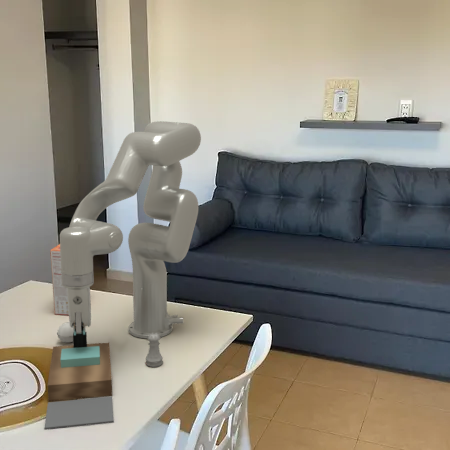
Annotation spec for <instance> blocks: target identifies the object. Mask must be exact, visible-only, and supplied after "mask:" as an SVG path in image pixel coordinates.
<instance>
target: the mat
mask: <svg viewBox="0 0 450 450" xmlns="http://www.w3.org/2000/svg"><path fill="white" fill-rule="evenodd" d="M113 402H114V401H113V395H112V396H104V397H94V398H83V399H72V400H62V401H51V402H47V407H46V414H45V422H44V430H53V429H63V428H73V427H82V426H83V427H85V426H92V425H93V426H94V425H101V424H102V425H103V424H111V423H115V422H114V420H115V419H114V403H113Z"/></svg>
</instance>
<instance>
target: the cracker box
mask: <svg viewBox="0 0 450 450" xmlns="http://www.w3.org/2000/svg"><path fill="white" fill-rule="evenodd" d="M49 253H50V266H51V268H50V269H51V279H52V281H51V282H52V294H53V295H52V296H53V297H52V299H53V305H54V306H53V307H54V309H53V310H54V315H56V316H57V315H58V316H59V315H60V316H61V315H62V316H69V312H68V297H67V288H65V287H63V286H62V277H61V254H60V243H59V244H57V245H56V246H54V247H53V248H51V249H50V251H49Z"/></svg>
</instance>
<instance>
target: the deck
mask: <svg viewBox="0 0 450 450" xmlns="http://www.w3.org/2000/svg"><path fill="white" fill-rule="evenodd" d="M93 346H99V349H100V365H88V366H76V367H64V368H61V351H62V349H67V348H74V347H73V344H70V345H56V346H52V350H51V351H52V352H51V360H50V365H49V371H48V372H49V373H48V379H47V386H46V387H47V399H48V400H47V401H48V402H58V401H69V400H79V399H90V398H101V397H111V396H112V397H113V383H112V380H113V379H112V363H111V347H110V346H111V345H110V342H109V341H108V342H98V343H97V342H96V343H87V347H93ZM48 402H47V403H48Z"/></svg>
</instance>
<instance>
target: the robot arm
mask: <svg viewBox="0 0 450 450" xmlns="http://www.w3.org/2000/svg"><path fill="white" fill-rule="evenodd" d="M201 141H202V136H201V132H200V130H199V128H198V127H197V126H196V125H194V124H193V123H188V122H178V121H177V122H174V121H163V120H162V121H158V120H157V121H152V122H149V123H148V124H147V125H145V127H144V130H143V131H133V132H130V133H128V134H127V135H126V136H125V138H124V139H123V141H122V144H121V146H120V147H119V151H117V154H116V157H115V159H114V161H113V163H112V166H111V167H110V168H109V169H110V170H109V172H108V175H107V176H106V178H105V180H104V181H103V182H101V183H100V184H98V185H97V186H96V187H95V188H93V189H92V190H91V191H90V192H89V193H88V194H87V195H86V196H85V197H84V198H83V199H82V200H81V201H80V203H79V204H78V206H77V207H76V209H75V211H74V213H73V216H72V218H71V221H70V224H69V227H66V228H63V229H62V230H61V231H60V234H59V244H60V254H61V277H62V286H63V287H65V288H67V297H68V312H69V315H68V320H69V321H68V322H70V327H72V328H73V329H74V333H73V342H72V345H73V347H74V348H80V347H87V344H88V339H87V337H88V336H87V330H86V327H88V328H90V326H91V325H92V303H91V299H92V298H91V288H90V287H92V286H93V285H94V281H95V280H94V279H95V278H94V256H97V255H107V254H111V253H113V252H115V251H117V250H118V249H119V248H121V245H122V244H123V242H124V241H123V240H124V234H123V232H122V230H121V229H120V228H119V226H117V225H115V224H113V223H109V222H104V221H100V220H97V219H98V217H99V215H100V214H101V213H103V211H105V209H107V208H108V207H109V206H111V205H113V204H116V203H118V202H121V201H124V200H126V199H129V198H132V197H133V196H135V195H136V194H137V193H138V192H139V190H140V189H139V188H140V186H141V184H142V181H143V179H144V176H145V175H146V173H147V170H148V167H150V166H152V170H151V175H150V179H149V182H148V186H147V190H146V193H145V197H144V201H143V205H142V206H143V212H144V214H145V216H147V217H149V219H150V218H151V219H154V220H158V221H164V222H168V223H170V224H169V226H168V225H163V224H159V223H152V222H140V223H137V224H136V225H134V226H132V228H131V229H130V231H129V234H128V238H127V243H128V248H129V253H130V257H131V265H132V266H131V267H132V298H133V299H132V300H133V301H132V303H133V307H132V308H133V321H132V322H130V323H129V325H128V333H130V335H131V336H133V337H136V338H139V339H148V337H149V334H151V335H152V333H154V334H155V333H157V334H159V336H160V338H162V337H165V336H168V335H169V334H170V333H171V332H172V331H173V325H175V324H176V325H181V324H184V317H183V316H178V314H172V315H170V314H169V313H168V310H167V309H168V304H167V301H168V298H167V296H168V294H167V291H168V287H167V285H168V284H167V282H168V281H167V279H168V275H167V268H166V263H165V262H167V263H173V264H174V263H180V262H181V261H183V259H185V258H186V256H187V253H188V252H189V249H190V244H191V242H192V238H193V234H194V232H195V231H194V229H195V226H196V223H197V219H198V216H199V215H198V214H199V201H198V197H197V195H196V194H195V193H194V192H193V191H191V190H188V189H184V188H180V187H181V186H180V185H181V182H182V177H183V168H182V164H181V161H182V160H184V159H186V158H188V157H191V156H192V155H194V154H195V153H196V152H197V150H199V148H200V145H201Z"/></svg>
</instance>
